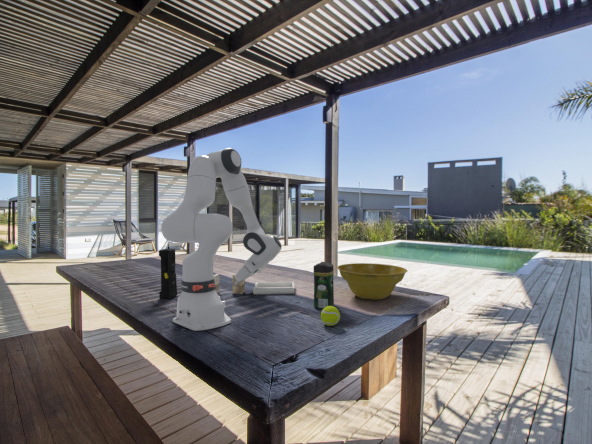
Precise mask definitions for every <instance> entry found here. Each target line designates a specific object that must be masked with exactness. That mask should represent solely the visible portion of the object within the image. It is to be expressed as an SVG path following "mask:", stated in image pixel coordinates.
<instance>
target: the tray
mask: <svg viewBox="0 0 592 444" xmlns="http://www.w3.org/2000/svg"><path fill="white" fill-rule="evenodd" d="M295 289H296V288H295V281H256V282H255V284H254V287H253V293H252V294H253V295H295V291H296V290H295Z"/></svg>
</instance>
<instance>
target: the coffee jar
mask: <svg viewBox="0 0 592 444" xmlns="http://www.w3.org/2000/svg"><path fill="white" fill-rule="evenodd" d="M334 270H335V269H334V264H333V263H331V261H321V262H319V263H316V264H315V265H313V307H314V308H316V309H319V310H323V309H324V308H325V307H327V306H334V304H335V299H334V298H335V296H334V295H335V294H334V292H335V291H334V288H335V287H334V286H335V285H334V272H335V271H334Z"/></svg>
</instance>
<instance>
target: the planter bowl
mask: <svg viewBox="0 0 592 444" xmlns="http://www.w3.org/2000/svg"><path fill="white" fill-rule="evenodd" d="M336 269H337V270H338V272H339V274H340V277H341V278H342V279H343V280H344V281H346V282H347V285H348V287H349V289H350V291H351V293H352V294H354V295H355V296H356V297H358V298H360V299H364V300H365V299H366V300H383V299H386V298H388V297H389V296H390V295H391V294H393V292H394V289H395V288H396V285H397V284H399V283H401V281H402V280H403V279H404V277H405V274H406V273H407V272H408V270H407V268H406V267H405V268H404V267H402V266H398V265H393V264H383V263H369V262H367V263H365V262H364V263H361V262H360V263H346V264H345V263H344V264H340V265H338V266H336Z"/></svg>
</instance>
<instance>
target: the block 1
mask: <svg viewBox="0 0 592 444" xmlns="http://www.w3.org/2000/svg"><path fill="white" fill-rule="evenodd" d="M213 278H214V280H215V286H216V289H215V290H216V292H217V294H218V293H220V273H213Z"/></svg>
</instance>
